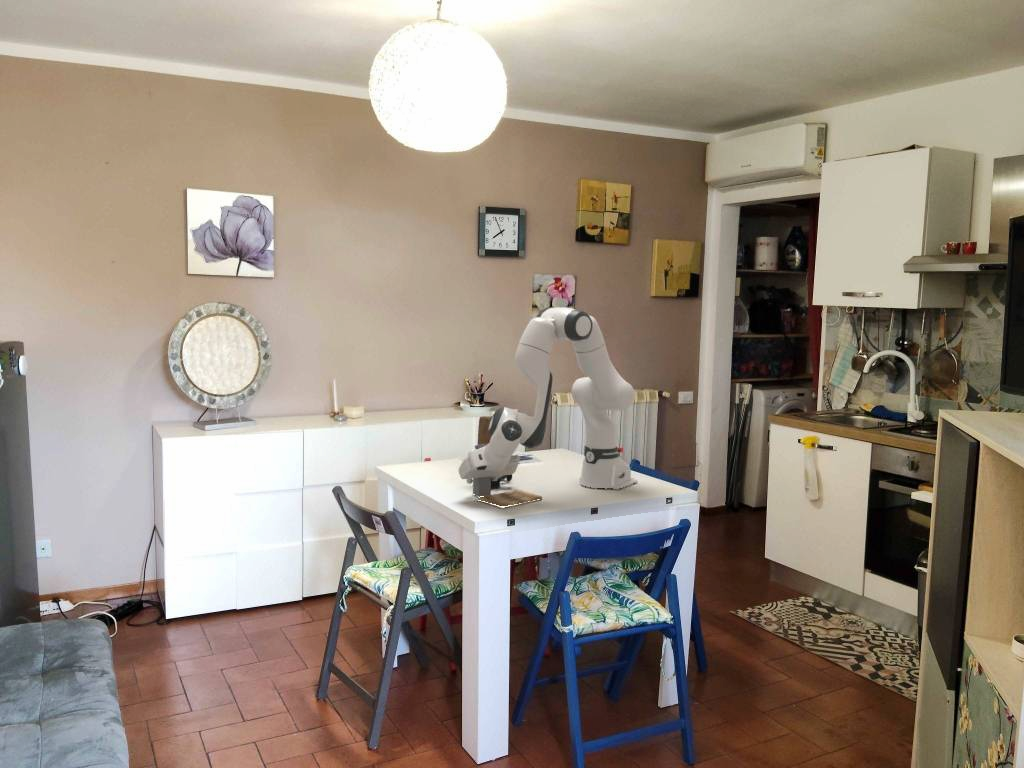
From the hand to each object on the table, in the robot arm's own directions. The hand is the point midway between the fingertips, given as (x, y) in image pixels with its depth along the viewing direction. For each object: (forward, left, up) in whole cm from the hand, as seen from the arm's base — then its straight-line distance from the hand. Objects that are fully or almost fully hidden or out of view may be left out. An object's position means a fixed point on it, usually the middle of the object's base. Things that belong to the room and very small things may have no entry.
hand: (481, 480), depth 279 cm
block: (-34, -33, -5) cm, 47 cm away
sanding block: (0, 0, -5) cm, 5 cm away
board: (-3, +11, -5) cm, 13 cm away
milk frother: (-14, -10, -5) cm, 18 cm away
